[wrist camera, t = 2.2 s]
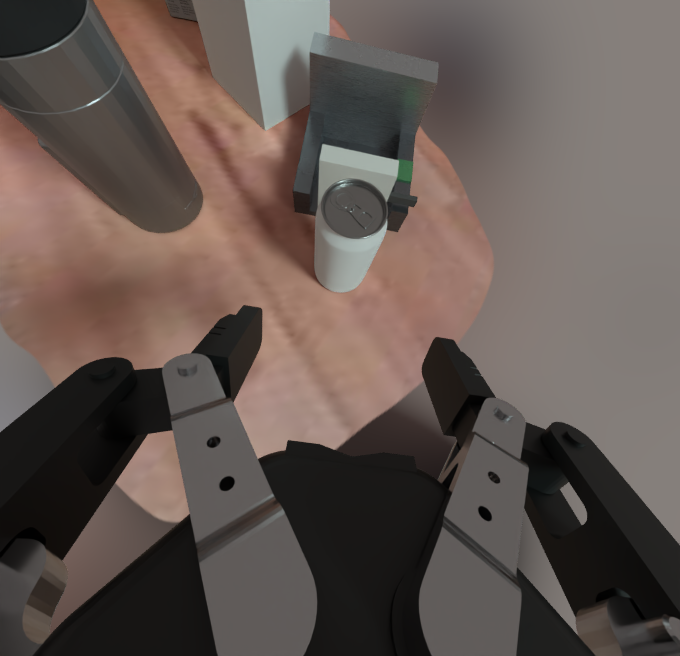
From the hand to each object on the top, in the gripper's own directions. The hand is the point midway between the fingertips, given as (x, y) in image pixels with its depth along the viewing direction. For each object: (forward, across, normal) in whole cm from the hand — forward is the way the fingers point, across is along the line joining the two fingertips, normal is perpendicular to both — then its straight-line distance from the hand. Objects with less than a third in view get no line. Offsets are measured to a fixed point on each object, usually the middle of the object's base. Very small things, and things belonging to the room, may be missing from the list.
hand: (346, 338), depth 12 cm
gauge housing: (+32, 0, -6) cm, 33 cm away
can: (+22, 0, +4) cm, 22 cm away
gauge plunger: (+27, -2, -2) cm, 27 cm away
